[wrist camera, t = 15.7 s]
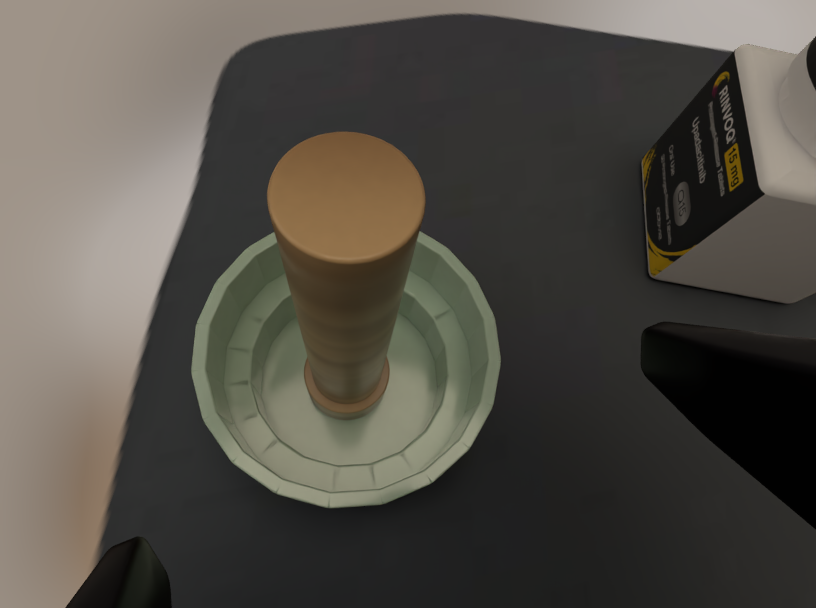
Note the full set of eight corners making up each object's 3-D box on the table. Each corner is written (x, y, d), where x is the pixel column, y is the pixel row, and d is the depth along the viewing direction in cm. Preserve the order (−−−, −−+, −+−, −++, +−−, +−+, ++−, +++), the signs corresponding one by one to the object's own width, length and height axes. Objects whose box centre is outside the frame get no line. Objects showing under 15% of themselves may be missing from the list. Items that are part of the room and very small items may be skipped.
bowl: (475, 497, 18) (521, 495, 13) (222, 515, 17) (174, 519, 12) (451, 277, 21) (480, 214, 17) (239, 279, 20) (207, 212, 15)
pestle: (388, 418, 18) (455, 280, 7) (306, 422, 18) (238, 282, 6) (384, 341, 19) (436, 118, 8) (307, 343, 19) (250, 111, 8)
